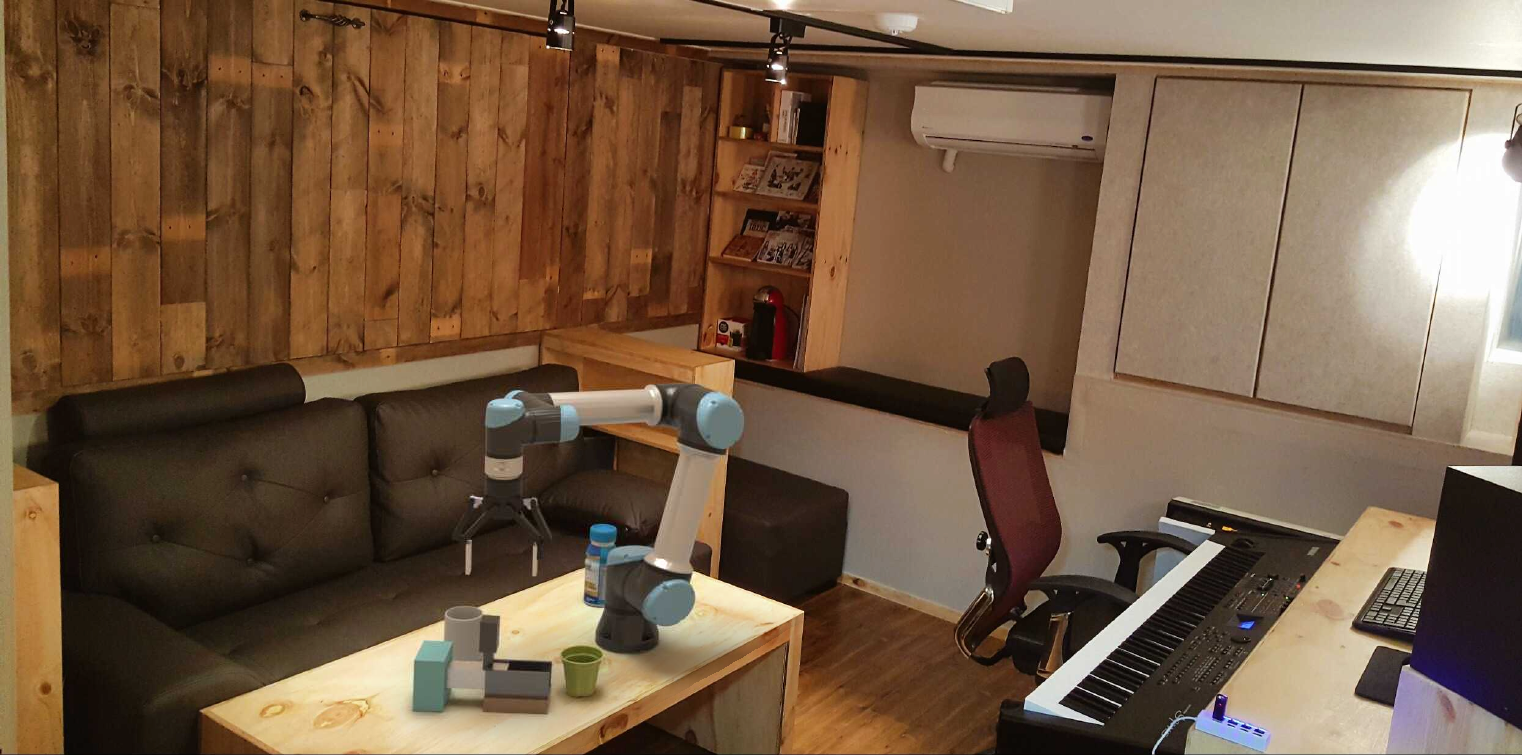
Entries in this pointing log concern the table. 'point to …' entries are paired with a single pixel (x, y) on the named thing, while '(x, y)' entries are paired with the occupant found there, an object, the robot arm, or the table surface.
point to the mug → (464, 632)
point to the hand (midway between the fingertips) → (501, 573)
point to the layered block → (518, 687)
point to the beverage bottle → (598, 563)
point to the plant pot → (581, 669)
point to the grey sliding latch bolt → (474, 671)
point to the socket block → (431, 675)
